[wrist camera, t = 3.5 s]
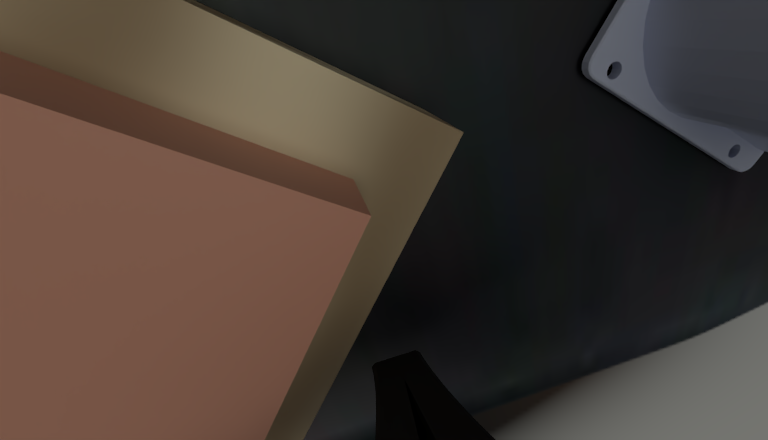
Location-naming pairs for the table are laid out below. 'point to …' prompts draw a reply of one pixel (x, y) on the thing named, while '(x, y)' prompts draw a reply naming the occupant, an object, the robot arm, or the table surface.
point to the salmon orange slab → (154, 267)
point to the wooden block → (258, 130)
